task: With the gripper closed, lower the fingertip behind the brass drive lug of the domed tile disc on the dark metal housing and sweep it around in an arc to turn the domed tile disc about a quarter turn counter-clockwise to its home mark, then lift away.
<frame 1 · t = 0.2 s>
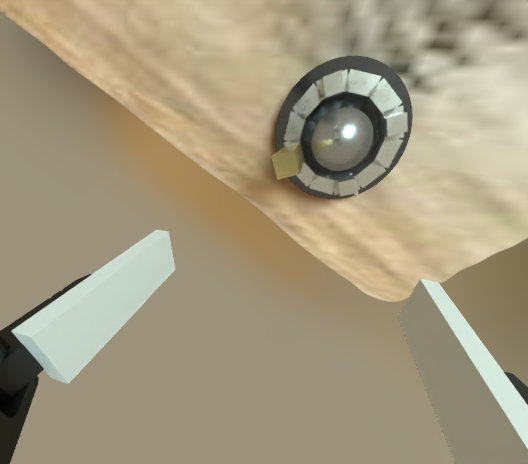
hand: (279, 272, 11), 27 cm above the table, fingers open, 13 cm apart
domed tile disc: (341, 142, 24), point 8 cm above the table, hinge at 0.0°
housing: (336, 136, 31), on the table
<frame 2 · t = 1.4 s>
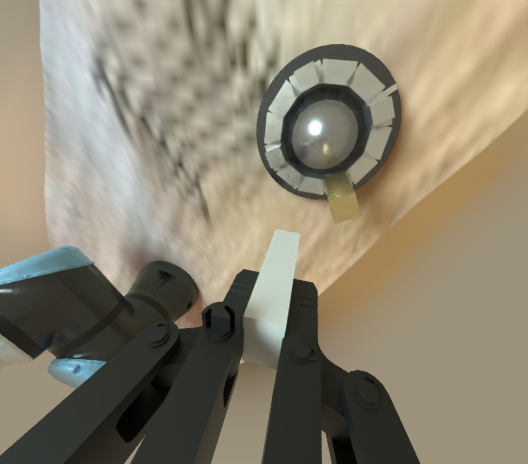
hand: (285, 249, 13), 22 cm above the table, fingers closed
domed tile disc: (324, 138, 22), point 8 cm above the table, hinge at 0.0°
housing: (322, 133, 29), on the table
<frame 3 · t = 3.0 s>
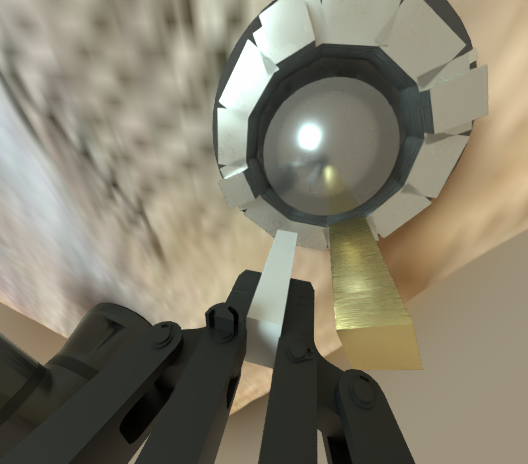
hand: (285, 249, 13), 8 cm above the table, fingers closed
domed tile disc: (326, 162, 10), point 8 cm above the table, hinge at 0.9°, touching gripper
housing: (323, 142, 17), on the table
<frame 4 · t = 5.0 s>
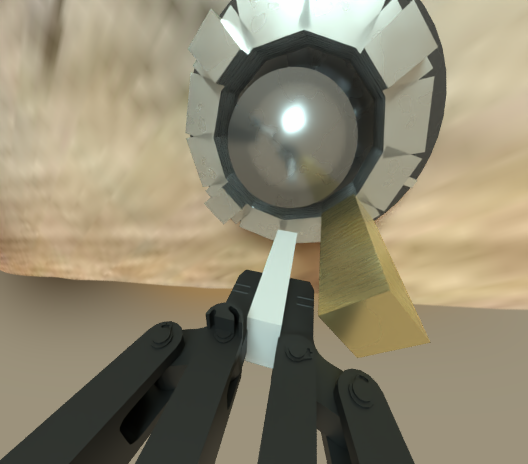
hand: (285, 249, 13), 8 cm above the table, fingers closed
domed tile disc: (285, 152, 10), point 8 cm above the table, hinge at 70.1°, touching gripper
housing: (300, 136, 17), on the table
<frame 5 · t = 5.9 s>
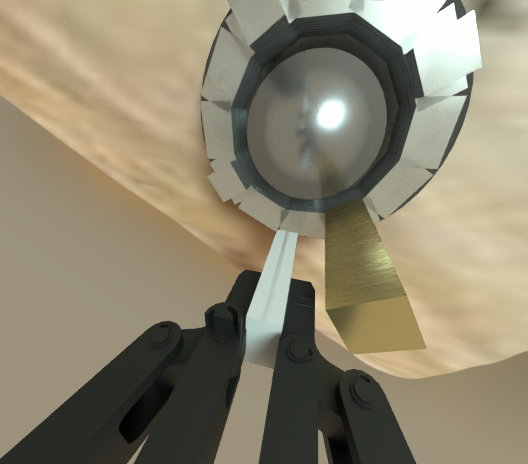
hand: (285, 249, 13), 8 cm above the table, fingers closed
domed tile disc: (310, 139, 10), point 8 cm above the table, hinge at 103.1°, touching gripper
housing: (315, 128, 17), on the table
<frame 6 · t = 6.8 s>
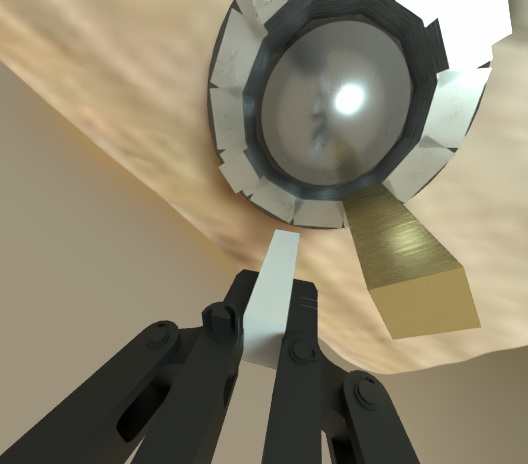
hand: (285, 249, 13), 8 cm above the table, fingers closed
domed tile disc: (331, 118, 9), point 8 cm above the table, hinge at 111.8°
housing: (325, 116, 16), on the table
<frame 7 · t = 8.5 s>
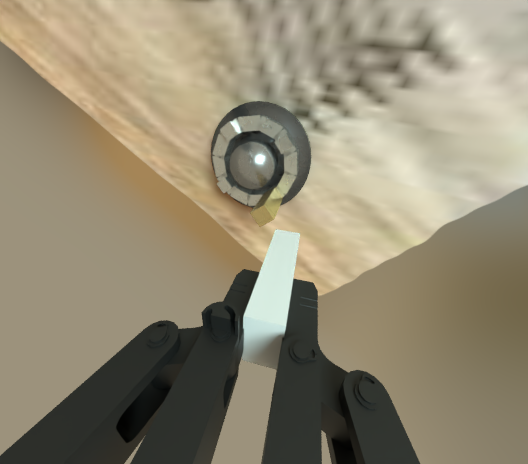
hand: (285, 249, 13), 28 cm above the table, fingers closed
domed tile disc: (249, 169, 31), point 8 cm above the table, hinge at 111.8°
housing: (261, 159, 38), on the table
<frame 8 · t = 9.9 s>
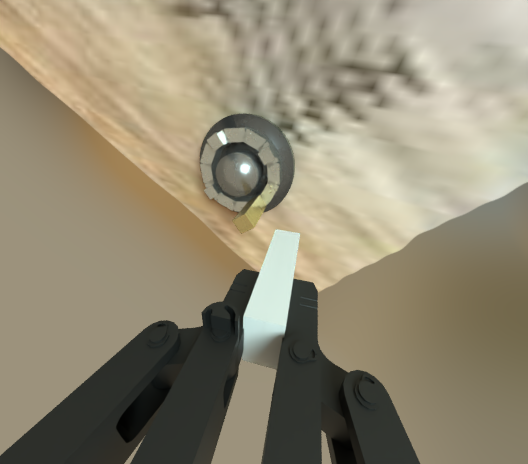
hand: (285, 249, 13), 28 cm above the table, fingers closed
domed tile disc: (233, 178, 33), point 8 cm above the table, hinge at 111.8°
housing: (248, 167, 40), on the table
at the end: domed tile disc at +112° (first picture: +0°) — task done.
